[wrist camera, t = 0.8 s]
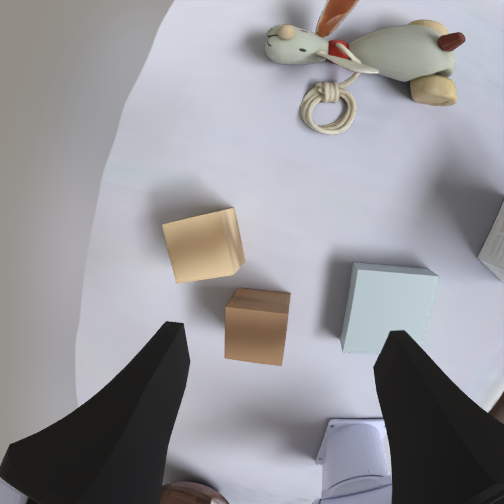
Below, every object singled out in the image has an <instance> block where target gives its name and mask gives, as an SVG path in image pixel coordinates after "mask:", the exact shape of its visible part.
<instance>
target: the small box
mask: <svg viewBox="0 0 504 504" xmlns="http://www.w3.org/2000/svg"><path fill="white" fill-rule="evenodd" d="M477 258H478V259H479V260H480V261H481V262H482V263H483V264H484V265H485V266H486V267H487V268H488V269H489V270H490V271H491V272H492V273H493V274H495V275H496V276H497V277H498V278H499V279H500V280H501V281H502V282H503V283H504V201H503V203H502V206H501V208H500V211H499V213H498V215H497V218H496V220H495V222H494V224H493V227H492V229H491V231H490V233H489V235H488V237H487V239H486V241H485V244H484V246H483V248H482V249H481V251H480V253H479V255H478V257H477Z"/></svg>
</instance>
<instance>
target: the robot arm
mask: <svg viewBox="0 0 504 504" xmlns="http://www.w3.org/2000/svg"><path fill="white" fill-rule="evenodd" d="M189 366H190V357H189V352H188V346H187V341H186V335H185V329H184V323H177V322H169V321H166V322H165V323H164V324H163V325H162V326H161V328H160V329H159V330H158V331H157V332H156V334H155V335H154V336H153V337H152V338H151V339H150V340H149V342H148V343H147V344H146V345H145V346H144V347H143V348H142V350H141V351H140V352H139V353H138V354H137V355H136V356H135V357H134V358H133V359H132V360H131V361H130V363H129V364H128V365H127V366H126V367H125V368H124V369H123V370H122V371H121V372H120V373H119V374H118V375H116V376H115V377H114V378H113V379H112V380H111V381H110V382H109V383H108V384H107V385H106V386H105V387H104V388H103V389H101V390H100V391H99V392H98V393H97V394H96V395H94V396H93V397H92V398H91V399H89V400H88V401H87V402H85V403H84V404H83V405H81V406H80V407H79V408H77V409H76V410H75V411H73V412H72V413H70V414H69V415H67V416H66V417H64V418H63V419H61V420H59V421H57V422H56V423H54V424H52V425H50V426H49V427H47V428H45V429H43V430H41V431H40V432H38V433H36V434H33V435H31V436H29V437H27V438H24V439H22V440H19V441H17V442H15V443H12V444H10V445H9V447H8V449H7V452H6V454H5V456H4V459H3V461H2V463H1V466H0V477H1V478H2V479H3V480H4V481H6V482H7V483H8V484H10V485H11V486H10V485H8V484H7V483H5V482H3V481H2V480H0V504H160V499H161V489H162V481H163V474H164V467H165V461H166V455H167V449H168V444H169V440H170V436H171V433H172V430H173V427H174V423H175V420H176V417H177V414H178V410H179V407H180V404H181V401H182V397H183V394H184V391H185V387H186V383H187V377H188V372H189ZM373 368H374V376H375V384H376V391H377V395H378V399H379V403H380V407H381V411H382V415H383V419H365V420H356V419H331V420H330V421H329V423H328V426H327V429H326V432H325V435H324V438H323V441H322V444H321V447H320V450H319V453H318V456H317V458H316V464H320V465H323V466H322V499H316V500H315V501H314V502H313V503H312V504H504V424H503V423H501V422H499V421H498V420H497V419H495V418H494V417H493V416H491V415H490V414H488V413H487V412H486V411H484V410H483V409H482V408H481V407H479V406H478V405H477V404H476V403H475V402H474V401H472V400H471V399H470V398H469V397H468V396H467V395H466V394H465V393H464V392H462V391H461V390H460V389H459V388H458V387H457V386H456V385H455V384H454V383H453V382H452V381H451V380H450V379H449V377H448V376H447V375H446V374H445V373H444V372H443V371H442V370H441V369H440V368H439V367H438V366H437V365H436V364H435V362H434V361H433V360H432V359H431V358H430V357H429V356H428V355H427V354H426V352H425V351H424V350H423V349H422V348H421V347H420V346H419V345H418V344H417V343H416V341H415V340H414V339H413V338H412V337H411V336H410V335H409V334H408V333H407V332H406V331H405V330H394V331H390V332H389V334H388V337H387V339H386V341H385V344H384V346H383V348H382V350H381V352H380V354H379V356H378V359H377V361H376V363H375V365H374V367H373ZM331 425H333V426H331ZM386 432H387V436H388V440H389V446H390V454H391V467H392V478H391V475H389V472H388V467H387V462H386V457H385V452H384V447H383V442H382V440H383V438H384V436H385V434H386ZM13 487H14V488H15V489H14V488H13ZM16 489H17V490H16Z"/></svg>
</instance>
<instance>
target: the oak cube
mask: <svg viewBox="0 0 504 504" xmlns="http://www.w3.org/2000/svg"><path fill="white" fill-rule="evenodd" d="M162 227H163V231H164V236H165V240H166V244H167V248H168V253H169V257H170V261H171V265H172V268H173V272H174V276H175V280H176V284H177V283H184V282H191V281H198V280H204V279H211V278H218V277H224V276H231V275H234V274H235V273H236V271H237V270H238V269H239V268H240V267H241V265H242V264H243V263H244V262H245V261H246V260H245V255H244V251H243V246H242V241H241V236H240V232H239V227H238V222H237V218H236V213H235V208H231V209H226V210H221V211H217V212H212V213H208V214H203V215H199V216H195V217H190V218H186V219H182V220H178V221H174V222H170V223H166V224H162Z"/></svg>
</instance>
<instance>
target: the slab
mask: <svg viewBox="0 0 504 504" xmlns="http://www.w3.org/2000/svg"><path fill="white" fill-rule="evenodd" d="M439 277H440V276H438V275H437V274H435V273H434V272H433V271H431V270H430V269H424V268H413V267H402V266H391V265H380V264H369V263H358V262H353V266H352V273H351V280H350V287H349V293H348V299H347V305H346V311H345V317H344V322H343V327H342V332H341V337H340V341H341V347H342V352H343V353H359V354H380V352H381V350H382V348H383V346H384V344H385V341H386V339H387V337H388V334H389V332H390V331H394V330H405V331H406V332H407V333H408V334H409V335H410V336H411V337H412V338H413V339H414V340H415V341H416V343H417V344H418V345H419V346H420V347H422V343H423V340H424V337H425V333H426V330H427V327H428V323H429V319H430V316H431V312H432V308H433V304H434V300H435V295H436V291H437V286H438V282H439Z"/></svg>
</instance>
